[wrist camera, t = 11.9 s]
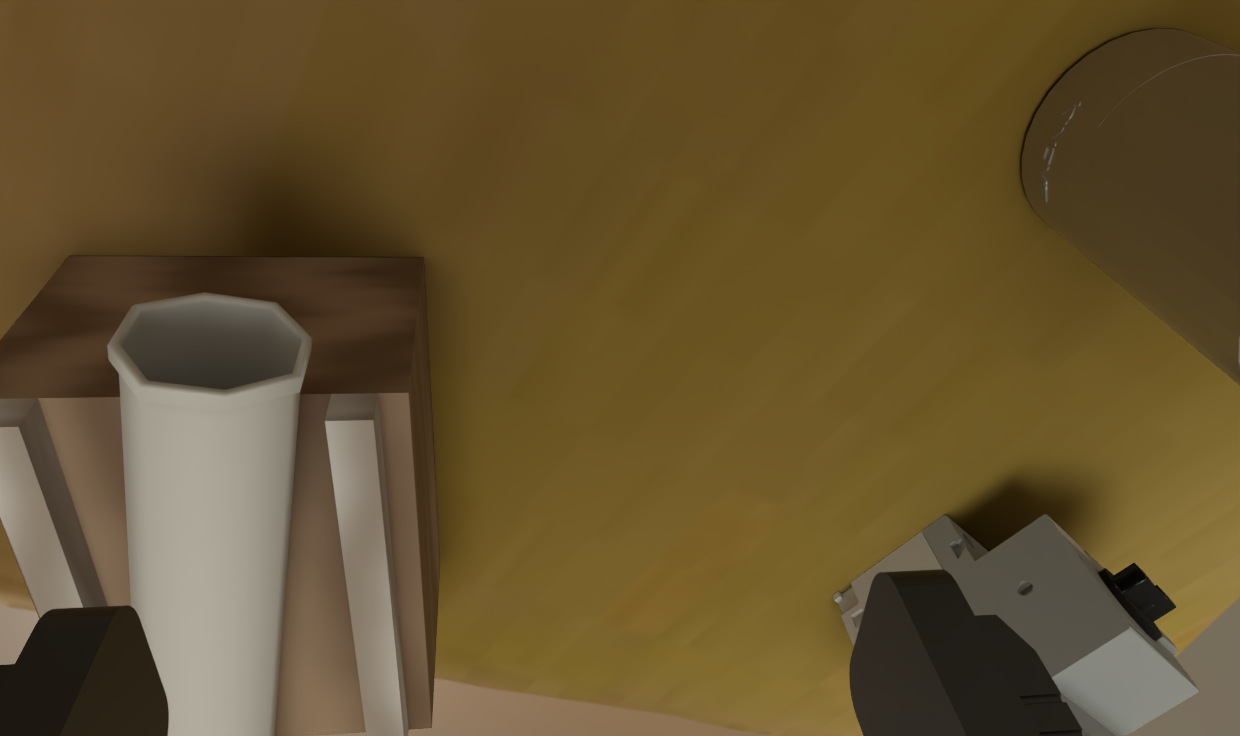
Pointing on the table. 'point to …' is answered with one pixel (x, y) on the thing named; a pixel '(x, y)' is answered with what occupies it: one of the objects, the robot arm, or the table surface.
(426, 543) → the stand
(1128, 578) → the circuit breaker
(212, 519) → the tube
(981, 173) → the table surface
